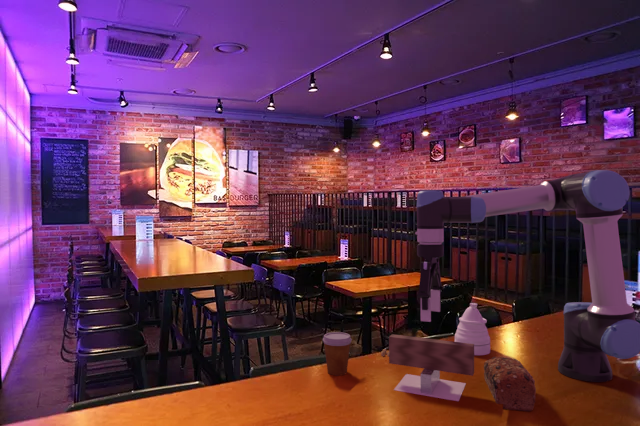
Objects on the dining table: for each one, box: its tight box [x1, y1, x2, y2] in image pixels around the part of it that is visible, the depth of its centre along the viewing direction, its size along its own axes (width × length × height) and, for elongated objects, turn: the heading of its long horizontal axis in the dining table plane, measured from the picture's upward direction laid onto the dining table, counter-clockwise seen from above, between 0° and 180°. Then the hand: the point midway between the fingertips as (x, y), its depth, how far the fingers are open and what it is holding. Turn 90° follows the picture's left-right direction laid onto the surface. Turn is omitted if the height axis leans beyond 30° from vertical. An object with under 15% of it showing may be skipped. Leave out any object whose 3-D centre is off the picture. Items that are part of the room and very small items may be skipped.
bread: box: [483, 356, 537, 412], centre depth 127 cm, size 19×11×10 cm, turn 168°
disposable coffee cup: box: [322, 331, 353, 376], centre depth 147 cm, size 10×10×12 cm
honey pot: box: [454, 302, 491, 356], centre depth 170 cm, size 13×13×18 cm
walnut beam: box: [388, 333, 475, 377], centre depth 130 cm, size 24×3×8 cm, turn 64°
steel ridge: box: [420, 368, 441, 395], centre depth 130 cm, size 3×12×6 cm, turn 154°
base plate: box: [393, 373, 467, 402], centre depth 130 cm, size 18×14×2 cm
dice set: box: [380, 348, 389, 358], centre depth 164 cm, size 5×5×2 cm
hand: (430, 316), depth 130 cm, fingers open, 13 cm apart
